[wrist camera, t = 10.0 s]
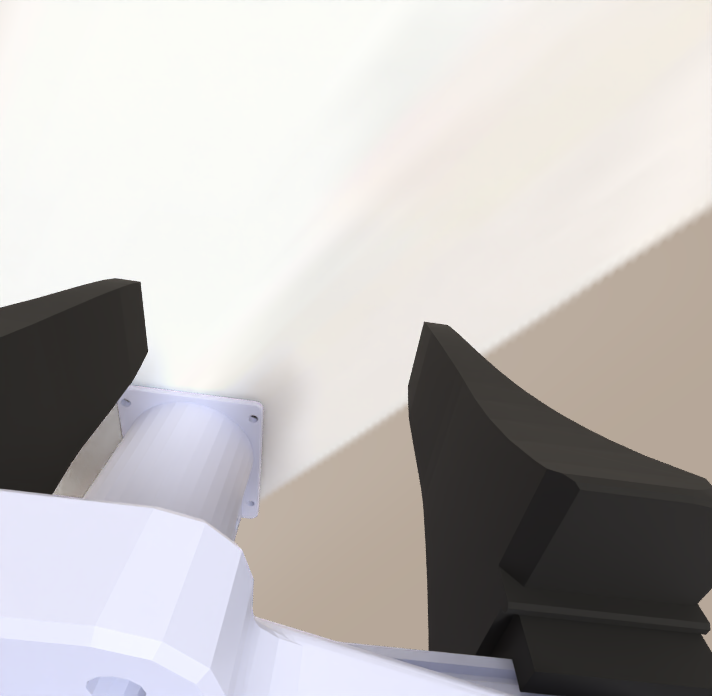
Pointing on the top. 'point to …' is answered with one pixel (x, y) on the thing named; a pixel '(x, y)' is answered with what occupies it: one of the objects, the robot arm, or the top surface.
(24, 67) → the top surface
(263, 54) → the top surface
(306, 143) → the top surface
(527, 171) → the top surface
